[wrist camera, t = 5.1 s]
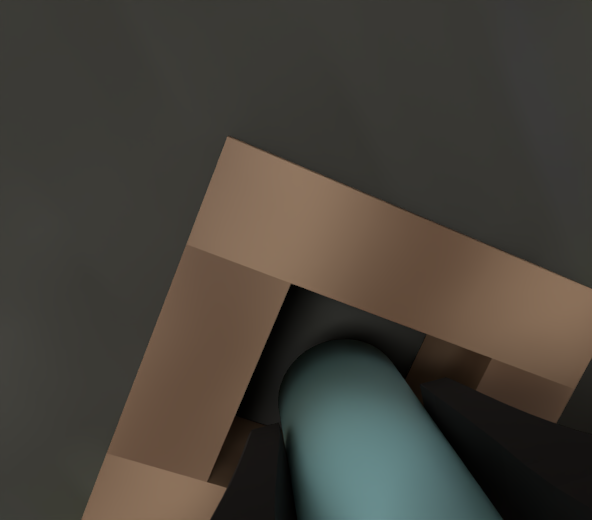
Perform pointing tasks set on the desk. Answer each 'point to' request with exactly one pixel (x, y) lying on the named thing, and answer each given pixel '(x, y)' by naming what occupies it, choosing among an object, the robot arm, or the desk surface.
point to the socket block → (334, 284)
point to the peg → (368, 443)
